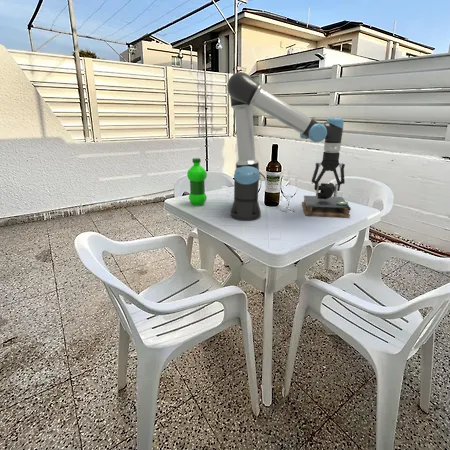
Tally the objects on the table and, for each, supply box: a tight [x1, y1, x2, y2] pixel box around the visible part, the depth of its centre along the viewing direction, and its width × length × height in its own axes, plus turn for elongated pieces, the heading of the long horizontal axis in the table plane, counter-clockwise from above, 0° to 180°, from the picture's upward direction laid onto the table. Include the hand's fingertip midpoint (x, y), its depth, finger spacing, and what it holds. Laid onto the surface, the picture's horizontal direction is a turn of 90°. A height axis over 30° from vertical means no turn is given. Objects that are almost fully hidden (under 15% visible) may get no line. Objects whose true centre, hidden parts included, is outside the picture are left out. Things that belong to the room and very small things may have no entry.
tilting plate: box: [303, 195, 350, 208], centre depth 152 cm, size 20×16×3 cm
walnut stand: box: [301, 198, 352, 219], centre depth 153 cm, size 21×20×5 cm
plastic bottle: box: [186, 157, 208, 206], centre depth 160 cm, size 10×10×25 cm
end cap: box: [318, 182, 335, 199], centre depth 150 cm, size 10×7×7 cm
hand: (325, 196), depth 152 cm, fingers closed on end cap, 8 cm apart
